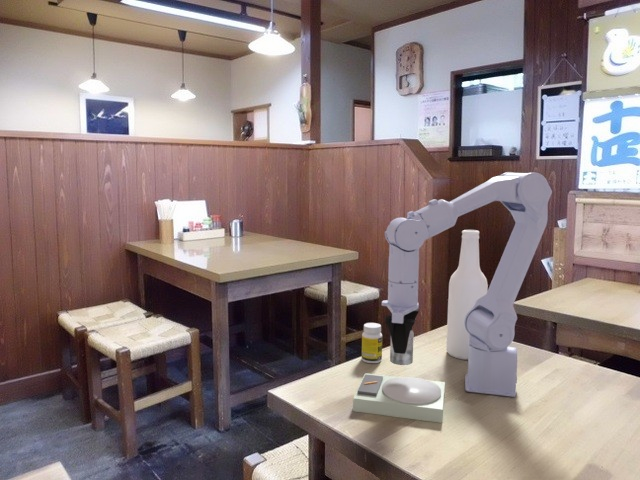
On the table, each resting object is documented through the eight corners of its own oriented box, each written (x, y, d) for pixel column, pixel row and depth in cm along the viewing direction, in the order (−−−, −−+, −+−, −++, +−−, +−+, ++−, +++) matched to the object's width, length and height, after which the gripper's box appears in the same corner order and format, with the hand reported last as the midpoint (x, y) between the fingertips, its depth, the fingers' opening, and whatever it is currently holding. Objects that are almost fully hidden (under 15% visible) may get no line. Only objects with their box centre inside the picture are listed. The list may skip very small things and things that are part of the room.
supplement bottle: (380, 364, 116) (381, 329, 115) (360, 363, 117) (360, 327, 116) (382, 357, 121) (383, 322, 120) (362, 355, 122) (363, 321, 121)
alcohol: (483, 349, 126) (489, 229, 122) (484, 362, 118) (491, 233, 114) (446, 346, 129) (451, 227, 124) (445, 358, 120) (450, 232, 116)
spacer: (413, 358, 102) (414, 329, 101) (411, 366, 98) (412, 336, 97) (391, 355, 103) (392, 327, 102) (388, 363, 99) (389, 333, 98)
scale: (444, 394, 101) (445, 378, 101) (442, 422, 90) (442, 405, 89) (364, 384, 106) (365, 369, 105) (352, 411, 94) (353, 394, 94)
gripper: (388, 271, 106) (386, 334, 108) (375, 287, 92) (374, 359, 94) (422, 274, 104) (420, 338, 106) (415, 290, 90) (413, 363, 92)
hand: (401, 348), depth 100 cm, fingers closed on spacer, 4 cm apart
